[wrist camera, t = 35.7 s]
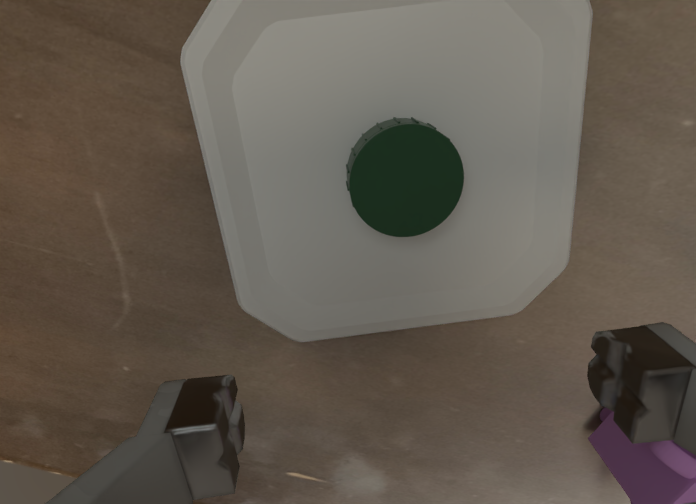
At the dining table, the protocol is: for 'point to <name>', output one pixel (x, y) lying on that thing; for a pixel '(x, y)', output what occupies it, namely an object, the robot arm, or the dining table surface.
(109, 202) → the dining table surface
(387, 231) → the lid
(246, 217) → the plate
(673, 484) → the teapot
